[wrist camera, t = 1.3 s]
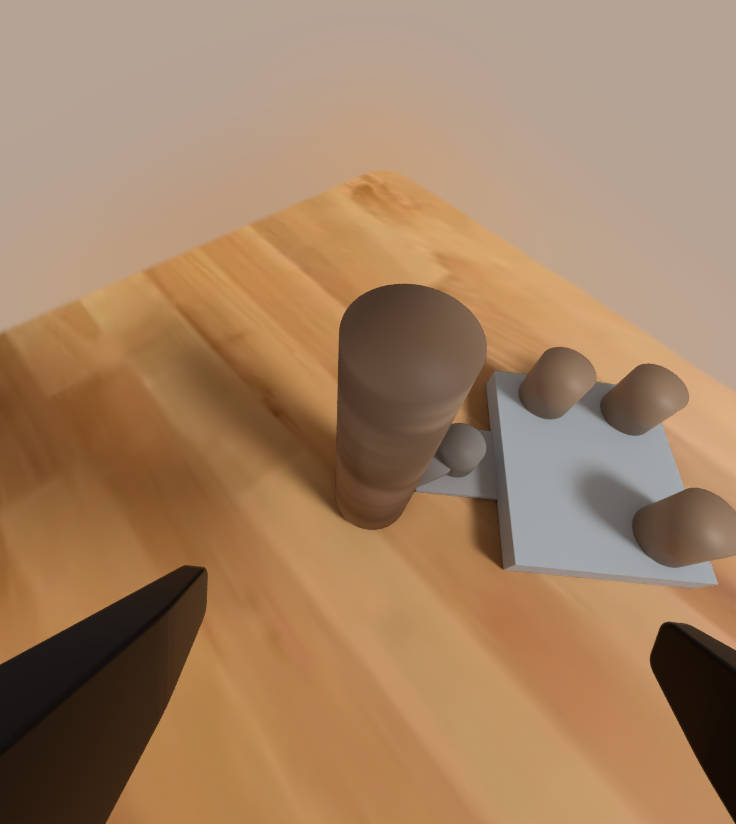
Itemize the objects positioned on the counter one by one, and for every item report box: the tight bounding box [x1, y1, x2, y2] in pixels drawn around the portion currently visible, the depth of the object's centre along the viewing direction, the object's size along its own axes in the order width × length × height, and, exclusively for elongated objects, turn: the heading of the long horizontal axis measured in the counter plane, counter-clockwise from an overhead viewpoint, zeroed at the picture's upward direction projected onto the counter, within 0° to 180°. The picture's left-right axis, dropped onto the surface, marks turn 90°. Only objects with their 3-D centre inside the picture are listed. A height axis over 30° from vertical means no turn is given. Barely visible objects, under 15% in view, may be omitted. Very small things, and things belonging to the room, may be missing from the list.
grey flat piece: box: [415, 347, 736, 588], centre depth 23 cm, size 15×17×5 cm
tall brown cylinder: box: [335, 284, 487, 530], centre depth 17 cm, size 9×4×13 cm, turn 115°
